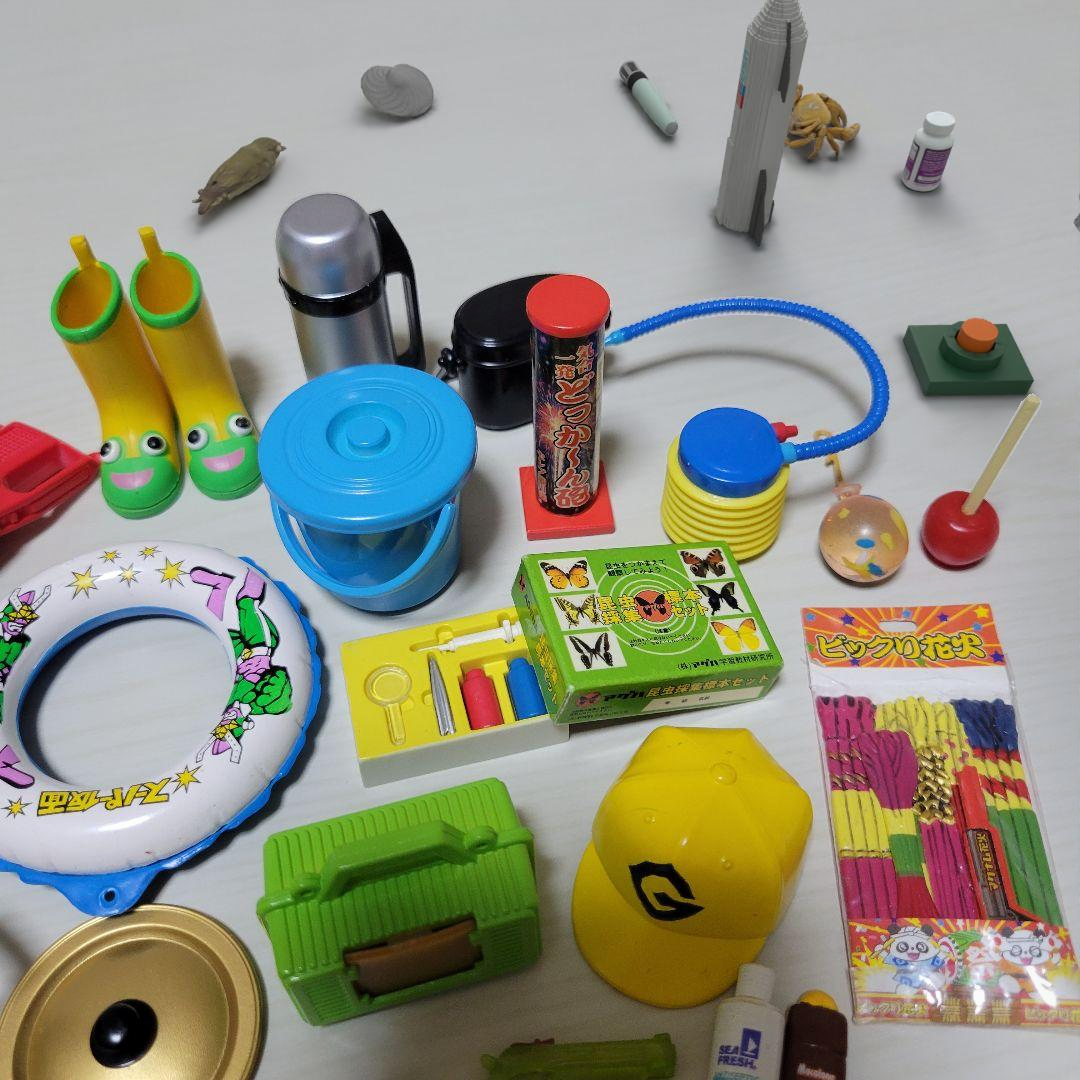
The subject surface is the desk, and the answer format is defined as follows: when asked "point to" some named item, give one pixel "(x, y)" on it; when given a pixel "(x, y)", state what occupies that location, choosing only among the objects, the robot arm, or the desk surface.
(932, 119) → the pill bottle
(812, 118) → the crab model
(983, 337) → the press button
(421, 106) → the seashell
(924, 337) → the button box
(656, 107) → the flashlight
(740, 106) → the rocket model
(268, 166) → the decorative bird model
